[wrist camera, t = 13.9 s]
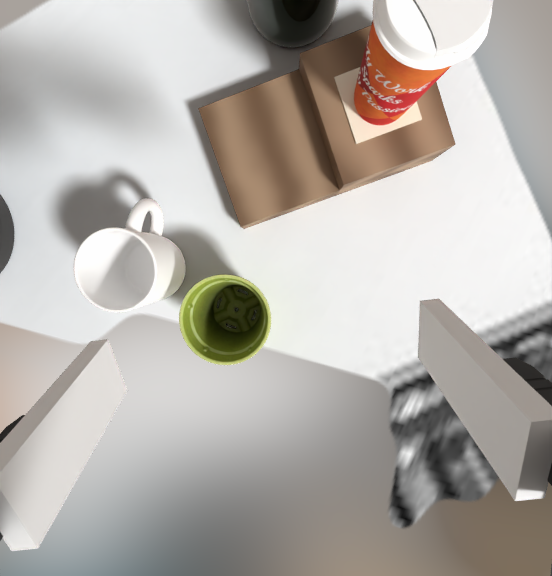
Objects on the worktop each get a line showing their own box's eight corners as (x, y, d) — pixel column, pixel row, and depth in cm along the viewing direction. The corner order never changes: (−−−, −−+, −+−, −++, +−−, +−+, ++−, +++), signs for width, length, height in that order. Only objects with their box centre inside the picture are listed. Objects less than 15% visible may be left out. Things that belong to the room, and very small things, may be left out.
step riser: (244, 228, 43) (236, 223, 37) (204, 119, 42) (190, 95, 36) (431, 160, 42) (456, 143, 36) (395, 45, 41) (414, 7, 35)
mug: (137, 198, 43) (90, 179, 33) (201, 214, 43) (174, 201, 33) (117, 290, 45) (65, 300, 34) (179, 307, 44) (146, 321, 34)
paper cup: (327, 101, 36) (352, 0, 22) (379, 41, 35) (439, -103, 21) (383, 153, 36) (443, 86, 22) (436, 94, 35) (532, -13, 21)
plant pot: (212, 261, 44) (193, 262, 35) (283, 284, 44) (282, 290, 35) (191, 331, 45) (168, 348, 36) (261, 353, 45) (254, 376, 36)
